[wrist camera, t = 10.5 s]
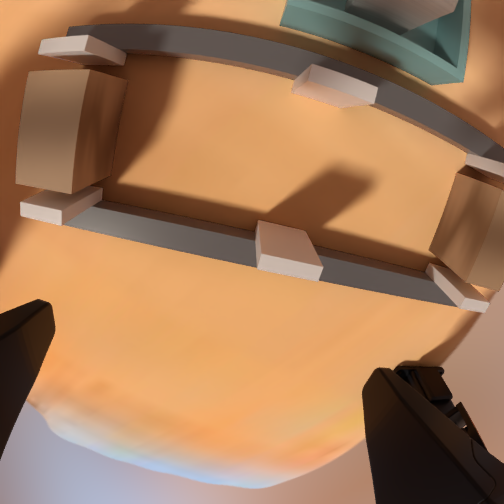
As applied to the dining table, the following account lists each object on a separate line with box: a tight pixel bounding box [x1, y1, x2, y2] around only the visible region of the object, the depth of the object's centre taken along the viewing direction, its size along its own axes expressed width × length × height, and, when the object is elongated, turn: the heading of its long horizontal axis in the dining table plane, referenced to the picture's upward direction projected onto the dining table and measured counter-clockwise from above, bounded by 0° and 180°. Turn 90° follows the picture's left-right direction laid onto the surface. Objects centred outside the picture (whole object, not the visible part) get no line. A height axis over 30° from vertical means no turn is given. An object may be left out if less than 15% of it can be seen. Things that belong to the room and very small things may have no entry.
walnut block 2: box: [429, 173, 504, 292], centre depth 16 cm, size 6×4×5 cm, turn 166°
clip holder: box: [20, 24, 504, 313], centre depth 15 cm, size 13×31×5 cm, turn 76°
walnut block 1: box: [16, 69, 128, 194], centre depth 13 cm, size 6×4×5 cm, turn 166°
